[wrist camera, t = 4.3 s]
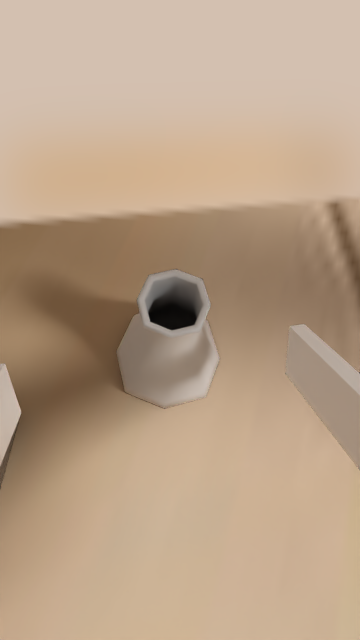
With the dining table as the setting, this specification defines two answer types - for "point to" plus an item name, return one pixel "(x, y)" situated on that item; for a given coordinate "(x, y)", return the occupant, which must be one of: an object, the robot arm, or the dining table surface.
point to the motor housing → (6, 458)
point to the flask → (169, 342)
